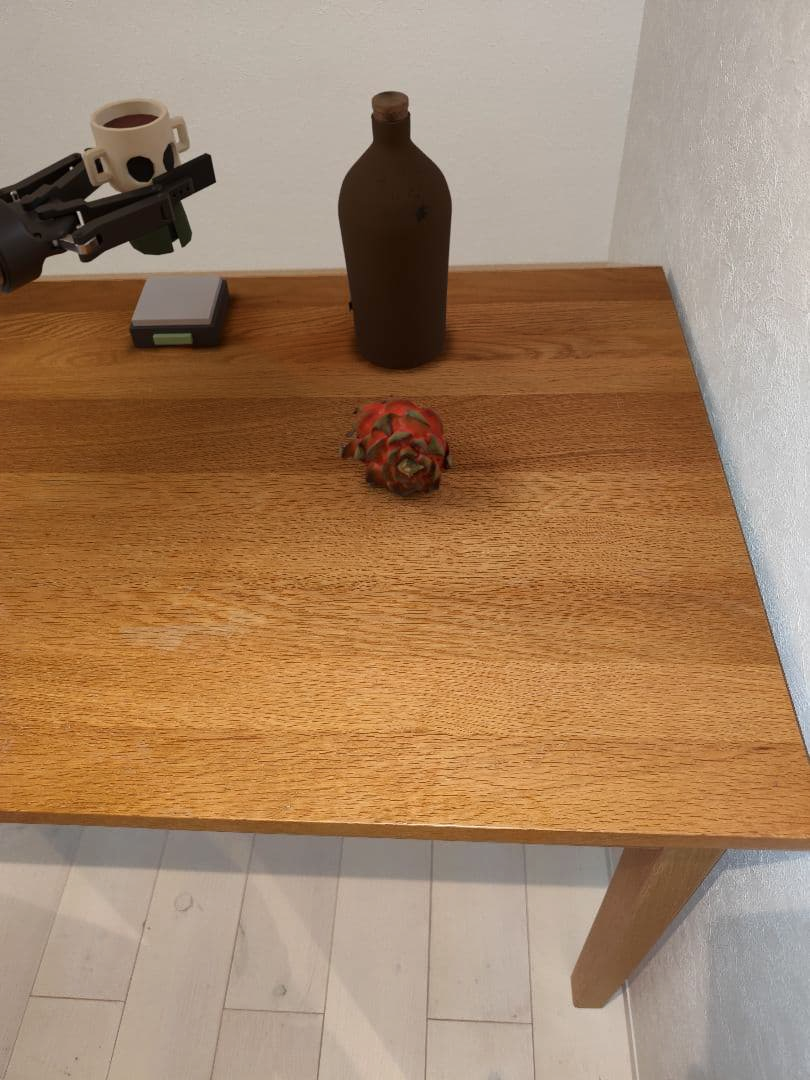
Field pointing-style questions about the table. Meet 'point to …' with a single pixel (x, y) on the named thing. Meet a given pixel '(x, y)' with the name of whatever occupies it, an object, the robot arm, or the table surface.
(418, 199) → the olive oil
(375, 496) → the table surface
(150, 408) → the table surface
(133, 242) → the character mug
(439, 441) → the dragon fruit
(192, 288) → the scale
